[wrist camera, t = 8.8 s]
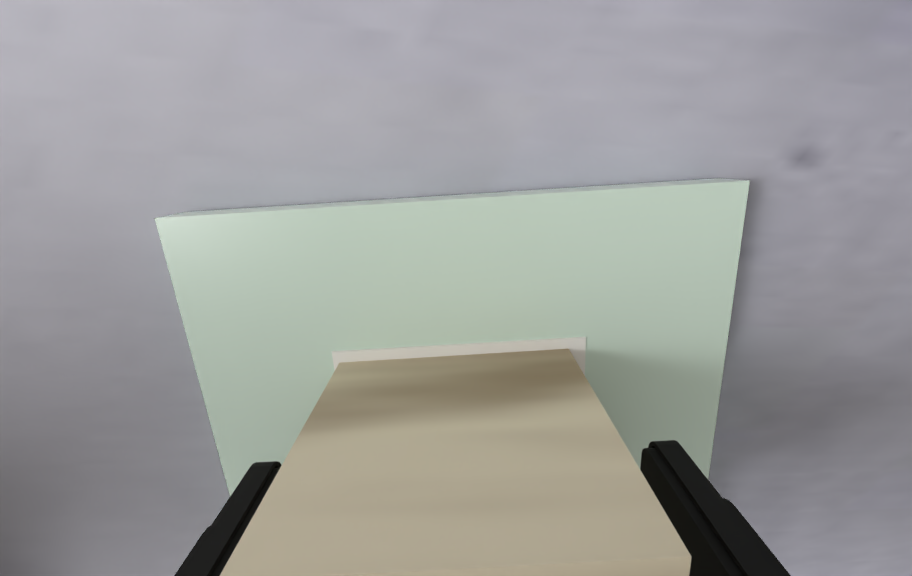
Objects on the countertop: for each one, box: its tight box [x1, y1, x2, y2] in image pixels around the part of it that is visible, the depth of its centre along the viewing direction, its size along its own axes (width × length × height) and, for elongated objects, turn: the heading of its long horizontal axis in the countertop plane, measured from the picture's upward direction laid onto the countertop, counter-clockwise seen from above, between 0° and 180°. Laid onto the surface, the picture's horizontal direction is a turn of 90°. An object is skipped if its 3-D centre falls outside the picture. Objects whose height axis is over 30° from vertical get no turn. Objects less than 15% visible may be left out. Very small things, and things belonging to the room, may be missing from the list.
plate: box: [155, 178, 750, 496], centre depth 13 cm, size 14×14×1 cm
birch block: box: [220, 349, 691, 576], centre depth 9 cm, size 6×6×6 cm
